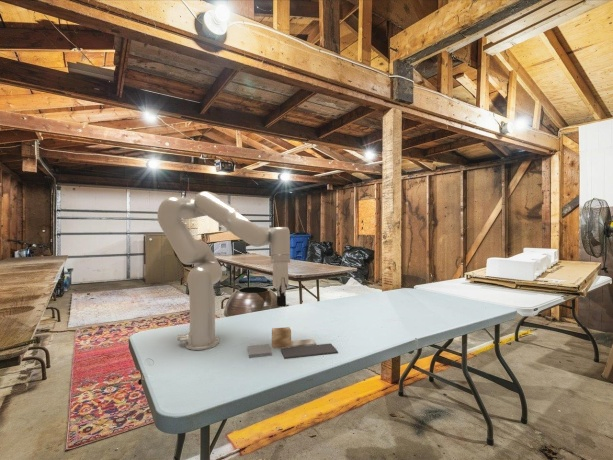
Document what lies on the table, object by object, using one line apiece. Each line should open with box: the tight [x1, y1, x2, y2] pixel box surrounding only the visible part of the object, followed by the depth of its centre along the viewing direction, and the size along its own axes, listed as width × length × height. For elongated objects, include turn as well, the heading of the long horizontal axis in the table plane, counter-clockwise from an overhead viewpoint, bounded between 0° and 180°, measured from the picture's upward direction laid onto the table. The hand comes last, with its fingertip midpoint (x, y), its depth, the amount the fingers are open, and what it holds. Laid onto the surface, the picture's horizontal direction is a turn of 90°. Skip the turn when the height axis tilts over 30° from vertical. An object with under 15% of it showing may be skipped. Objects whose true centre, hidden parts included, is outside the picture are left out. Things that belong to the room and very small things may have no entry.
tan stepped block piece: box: [271, 326, 317, 349], centre depth 119 cm, size 17×5×6 cm, turn 105°
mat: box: [280, 343, 339, 360], centre depth 113 cm, size 20×8×1 cm, turn 105°
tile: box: [247, 343, 273, 359], centre depth 112 cm, size 8×2×8 cm
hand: (281, 305), depth 118 cm, fingers closed
